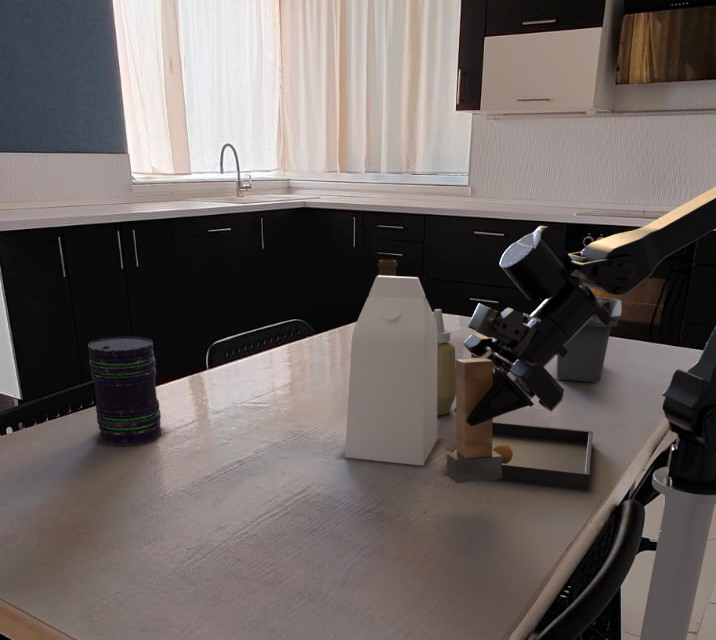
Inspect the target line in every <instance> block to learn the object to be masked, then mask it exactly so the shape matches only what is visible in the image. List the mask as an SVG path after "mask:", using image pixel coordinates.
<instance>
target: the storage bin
mask: <svg viewBox="0 0 716 640" xmlns="http://www.w3.org/2000/svg"><path fill="white" fill-rule="evenodd" d="M596 297H597V298H598V300H604V301H607V302H610V303H611V305H610V309H609V313H610V323H609V325H604V324H601V323H598V322H595V321H592V320H590V321H589V322H588V323H587V324H586V325H585V326H584V327H583V328H582V329H581V330H580V331H579V332H578V333H577V334H576V335H575V336H574V337H573V338H572V339H571V340H570V341H569V342H568V343H567V344H566V345H565V346H564V347H565V349H566V350H567V351H568V353H567V354H566V355H565V356H564V357H563V358H561V357H559V356H557V355H556V378H557V379H558V380H561V381H569V382H570V381H571V382H582V383H584V382H585V383H599V382H601V378H602V374H603V368H604V363H605V359H606V353H607V348H608V344H609V338H610V335H611V328H613V327H617V326H618V322H619V317H621V316H622V314H623V304H622V300H621V299H619V298H613V297H606V296H605V297H604V296H603V297H602V296H596Z"/></svg>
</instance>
